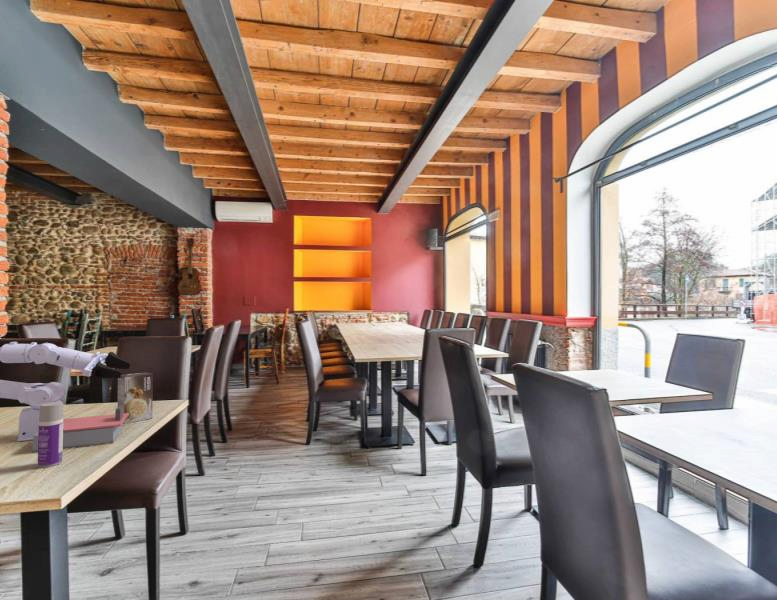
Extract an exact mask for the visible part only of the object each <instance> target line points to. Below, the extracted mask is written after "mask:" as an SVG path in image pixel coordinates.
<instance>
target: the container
mask: <svg viewBox="0 0 777 600" xmlns="http://www.w3.org/2000/svg"><path fill="white" fill-rule="evenodd" d="M63 419H64V402H63V401H61V402H50V403H45V404H41V405H40V414H39V432H38V452H37V468H39V467H46V468H50V467H49V466H52V467H55V466H58V465H60V464H62V463H63V451H64V449H63ZM61 462H62V463H61ZM59 463H60V464H59ZM57 464H58V465H57ZM54 465H55V466H54Z"/></svg>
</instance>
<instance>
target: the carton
mask: <svg viewBox="0 0 777 600" xmlns="http://www.w3.org/2000/svg"><path fill="white" fill-rule="evenodd" d="M122 430H123V424H122V425H121V426H116V427H107V428H97V429H87V430H78V431H68V432H63V450H65V448H68V449H73V448H72V447H76V448H80V447H79V446H84V447H90V445H93V446H98V445H97V444H101V445H106V444H105V443H110V444H114V442H115V441H114V440H116V439H117V437H118V436H119V435H120V433H121V432H122ZM32 453H38V433H36V434H35V435H34V436H33V440H32Z"/></svg>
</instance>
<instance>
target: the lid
mask: <svg viewBox="0 0 777 600" xmlns="http://www.w3.org/2000/svg"><path fill="white" fill-rule="evenodd" d="M114 410H115V412H114V414H104V415H93V416H82V417H71V418H63V432H68V431H78V430H87V429H97V428H107V427H116V426H121V425H122V426H123V425H124V424H123V422H124V421H125V419H126V418H127V416H128V415H129V413H124V414H123V406H118V405H117V407H116V408H115V409H114Z"/></svg>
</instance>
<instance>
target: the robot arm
mask: <svg viewBox="0 0 777 600" xmlns="http://www.w3.org/2000/svg"><path fill="white" fill-rule="evenodd" d="M0 362H2V363H4V364H14V363H15V364H22V363H24V364H25V363H26V364H27V363H34V364H35V365H40V364H41V365H42V364H45V363H46V364H49V365H54V366H58V367H61V368H65V369H70V370H76V371H82V374H81V375H82V376H85V377H88V378H89V377H90V380H91V381H96V380H103V379H118V378H121V375H123V371H122V370H130V369H131V365H132V362H131V361H130V362H129V361H127V360H125V359H124V358H121V357H120V356H118V355H117V354H116V353H115V352H114V351H109V352H108V353H101V351H97V352H95V353H90V352H85V351H82V350H81V351H80V350H76V349H72V348H67V347H61V346H57V345H56V344H54V343H49V342H44V343H39V344H38V342H34V341H32V342H31V343H18V341H10V342H9V343H5V344H3V345H2V346H1V347H0ZM66 392H67V391H66V387H65V385H63V384H62V383H61V382H58V381H57V382H56V381H51V382H48V383H41V382H36V383H35V382H34V383H27V382H20V381H19V382H18V381H11V380H5V379H0V399H9V400H18V401H19V403H20V404H26V405H27V406H28V405H29V406H30V407H26V408H23V409H21V411H20V414H19V418H18V434H17V435H18V437H17V439H16V440H17V442H23V441H33V436H34V435H35V434H36V433H38V432H39V414H40V405H41V404H45V403H50V402H62V400H63V398H64V397H65V395H66Z"/></svg>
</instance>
